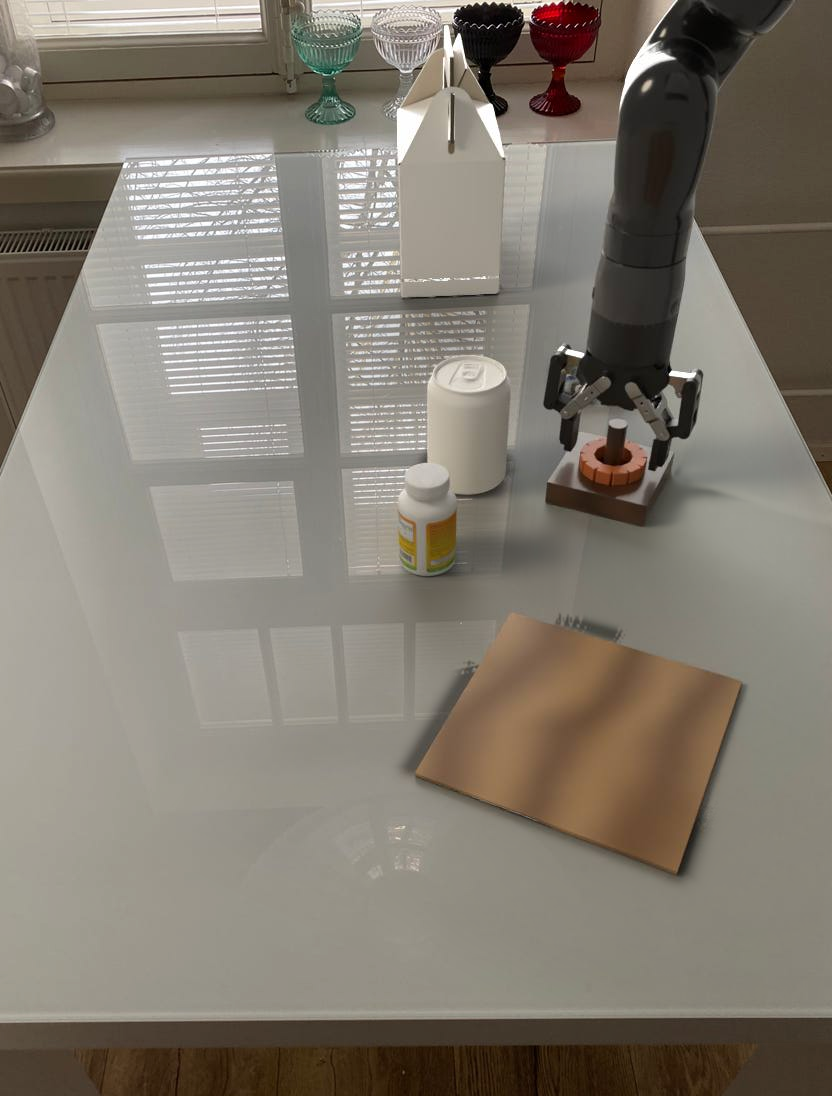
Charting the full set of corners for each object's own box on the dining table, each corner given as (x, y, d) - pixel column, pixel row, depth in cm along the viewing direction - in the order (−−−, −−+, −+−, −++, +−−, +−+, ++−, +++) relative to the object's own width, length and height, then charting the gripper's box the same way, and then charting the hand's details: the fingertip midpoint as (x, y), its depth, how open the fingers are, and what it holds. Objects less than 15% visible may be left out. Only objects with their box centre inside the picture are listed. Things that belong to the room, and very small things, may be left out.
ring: (652, 457, 100) (654, 445, 99) (633, 491, 96) (636, 479, 95) (590, 443, 102) (592, 431, 101) (570, 476, 98) (571, 464, 98)
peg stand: (670, 472, 102) (683, 408, 97) (643, 527, 96) (655, 462, 91) (577, 451, 106) (584, 388, 101) (544, 502, 100) (551, 438, 95)
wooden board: (741, 684, 81) (742, 680, 80) (676, 875, 68) (677, 872, 68) (510, 615, 88) (511, 611, 88) (414, 776, 76) (414, 773, 76)
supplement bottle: (460, 545, 96) (463, 461, 89) (449, 581, 92) (451, 496, 85) (406, 538, 97) (404, 454, 90) (393, 573, 93) (390, 488, 86)
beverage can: (420, 495, 102) (419, 391, 93) (435, 451, 107) (435, 349, 99) (499, 503, 100) (505, 398, 92) (509, 458, 106) (516, 355, 97)
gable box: (499, 296, 133) (510, 62, 114) (401, 300, 134) (395, 68, 114) (487, 229, 149) (495, 15, 130) (399, 234, 150) (394, 21, 130)
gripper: (728, 297, 87) (692, 453, 98) (572, 271, 92) (555, 422, 104) (707, 335, 82) (672, 494, 94) (544, 305, 88) (529, 460, 99)
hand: (611, 456), depth 99 cm, fingers open, 8 cm apart
